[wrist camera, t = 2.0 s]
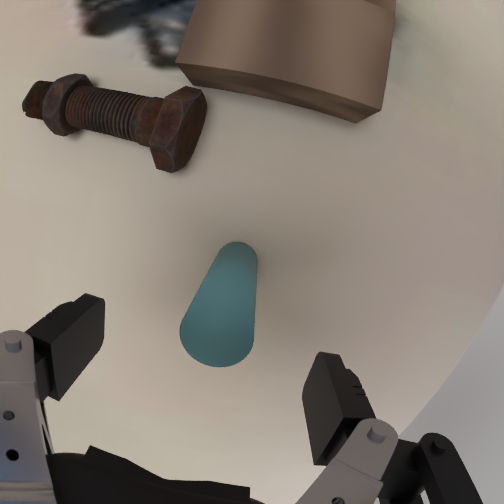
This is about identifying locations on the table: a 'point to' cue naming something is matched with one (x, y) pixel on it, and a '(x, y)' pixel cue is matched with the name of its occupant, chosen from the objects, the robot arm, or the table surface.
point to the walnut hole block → (293, 51)
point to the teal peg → (223, 309)
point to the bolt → (122, 116)
